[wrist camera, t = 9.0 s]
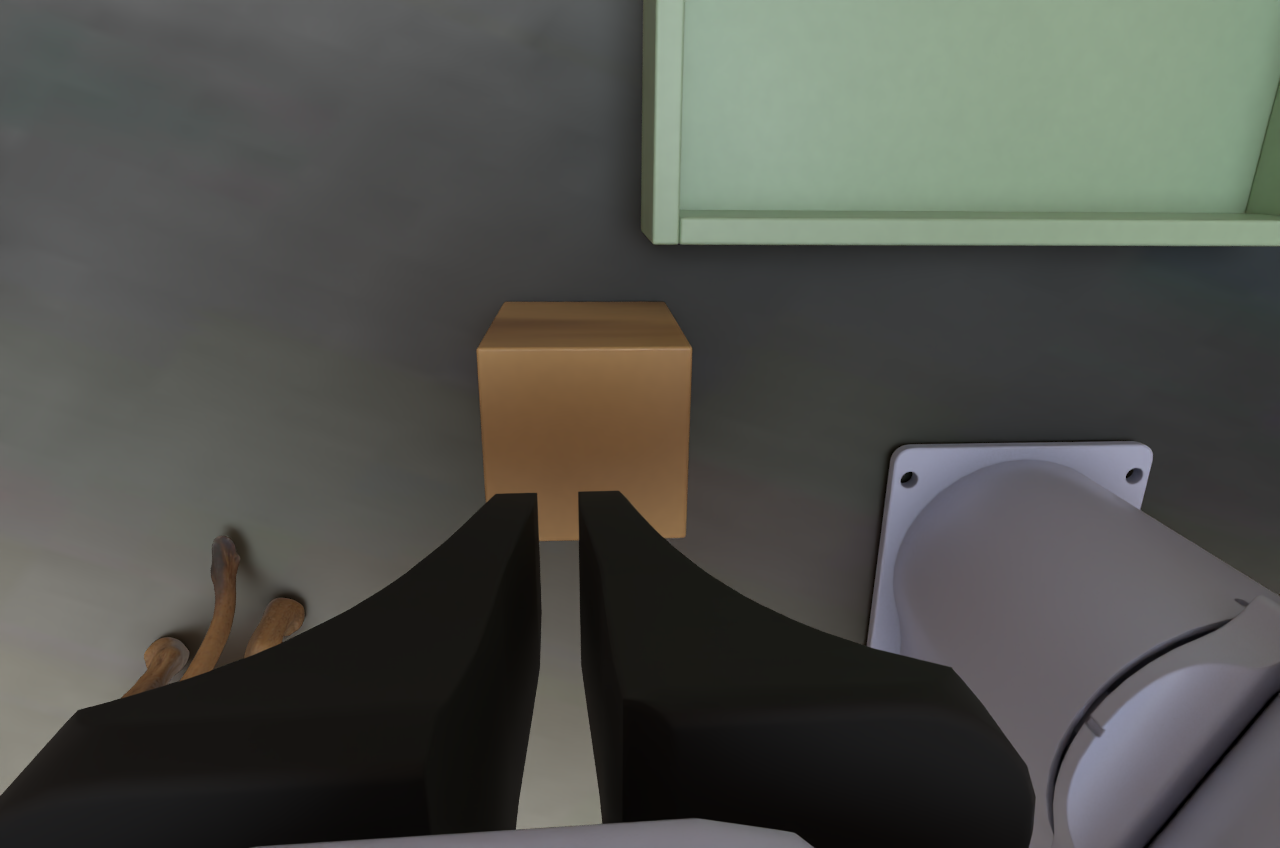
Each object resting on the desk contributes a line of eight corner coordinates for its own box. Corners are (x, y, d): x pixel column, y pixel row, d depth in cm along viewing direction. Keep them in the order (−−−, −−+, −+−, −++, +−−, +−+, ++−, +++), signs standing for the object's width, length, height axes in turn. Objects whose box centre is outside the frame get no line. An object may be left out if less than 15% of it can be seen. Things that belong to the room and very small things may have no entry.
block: (662, 451, 22) (686, 539, 17) (510, 453, 22) (487, 543, 17) (665, 301, 21) (693, 346, 15) (503, 301, 20) (475, 347, 15)
